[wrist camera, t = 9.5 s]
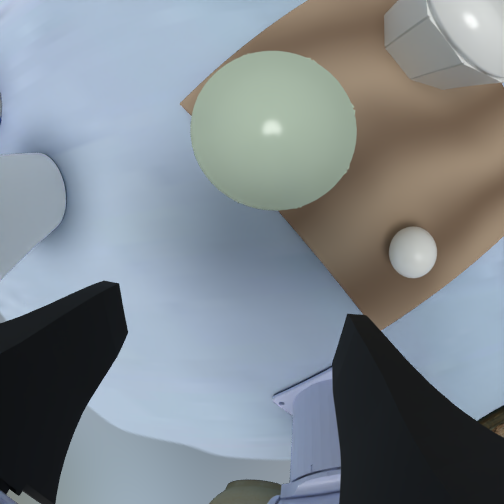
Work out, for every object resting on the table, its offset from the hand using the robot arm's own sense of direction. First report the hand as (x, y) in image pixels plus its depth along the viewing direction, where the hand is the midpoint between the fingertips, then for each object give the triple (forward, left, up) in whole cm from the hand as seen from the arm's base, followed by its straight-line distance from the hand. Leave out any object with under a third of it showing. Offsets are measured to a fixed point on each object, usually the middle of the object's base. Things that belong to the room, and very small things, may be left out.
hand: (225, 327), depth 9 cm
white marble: (-7, -7, -10) cm, 13 cm away
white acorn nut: (+2, -16, -10) cm, 18 cm away
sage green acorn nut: (+3, -5, -10) cm, 11 cm away
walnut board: (-2, -11, -10) cm, 15 cm away
